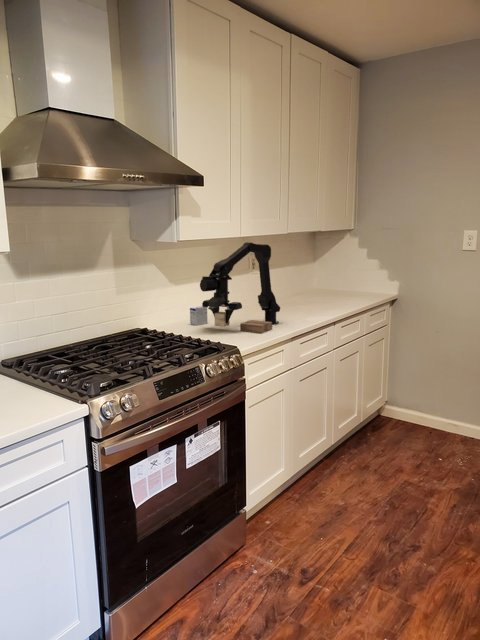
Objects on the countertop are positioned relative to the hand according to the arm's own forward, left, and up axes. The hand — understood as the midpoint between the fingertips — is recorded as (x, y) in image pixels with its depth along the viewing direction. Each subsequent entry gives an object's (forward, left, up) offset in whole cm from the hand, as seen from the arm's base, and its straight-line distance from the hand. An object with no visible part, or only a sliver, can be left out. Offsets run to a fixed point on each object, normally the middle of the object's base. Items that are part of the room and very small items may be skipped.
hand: (222, 322), depth 240 cm
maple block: (0, 0, -1) cm, 1 cm away
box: (-7, -18, -4) cm, 20 cm away
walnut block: (-8, +14, -4) cm, 17 cm away
